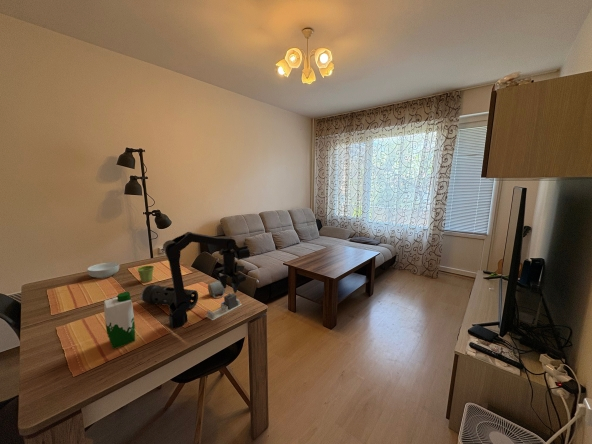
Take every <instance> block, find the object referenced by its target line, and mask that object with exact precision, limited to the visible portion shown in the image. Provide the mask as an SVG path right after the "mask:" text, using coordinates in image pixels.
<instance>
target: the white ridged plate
mask: <svg viewBox="0 0 592 444" xmlns="http://www.w3.org/2000/svg"><path fill="white" fill-rule="evenodd" d="M236 304H237V306H236V307H234V308H232V309H230V310H229V309H228V306H226V305H225V304H224V301H222V302H221V303H220V308H218V309H216V310H214V311H211V310H209V309H208V310H207V314H206V315H205V318H207V319H210V320H211V321H214V320H216V319H219V318H220V317H222V316H224V315H226V314H227V313H229V312H231V311H233V310H234V309H236V308H238V307H240V306H242V305H243V304H242V303H241V300H240V299H239V298H236Z"/></svg>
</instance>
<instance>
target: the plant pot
mask: <svg viewBox="0 0 592 444" xmlns="http://www.w3.org/2000/svg"><path fill="white" fill-rule="evenodd" d="M154 268H155V266H154V265H143V266H141V267H137V269H136V270H137V272H138V274H139V278H140V282H142V283H148V282H151V281H153V277H154V276H153V273H154V272H153V271H154Z"/></svg>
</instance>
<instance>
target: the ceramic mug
mask: <svg viewBox="0 0 592 444" xmlns="http://www.w3.org/2000/svg"><path fill="white" fill-rule="evenodd" d="M207 292H208V294H209V296H210V297H213V298H214V299H221V298H224V295H225V293H226V288H225V289H224V287H223V286H222V284H221V282H220V281H219V280H218V281H214V282H211V283H209V284H208V285H207ZM218 295H221V296H218Z"/></svg>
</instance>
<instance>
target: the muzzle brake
mask: <svg viewBox="0 0 592 444" xmlns="http://www.w3.org/2000/svg"><path fill="white" fill-rule="evenodd" d="M184 290H187V291H188V292H189V294H190V300H191V303H190V307H189V308H188V309H189V310H190V309H193V308H195V306H196V305H197V303H198V301H199V293H198V291H197V290H195V289H187V288H184ZM173 295H174V287H170V286H163V285H158V284H148V285H145V286H144V287H143V288H142V289H141V292H140V300H141V301H142V302H144V303H146V304H151V305H154V304H156V305H157V306H168V307H169V306H170V305H171V303H172V302H173Z"/></svg>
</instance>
